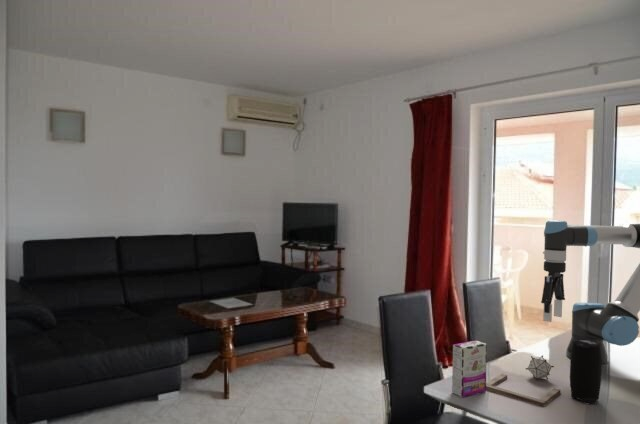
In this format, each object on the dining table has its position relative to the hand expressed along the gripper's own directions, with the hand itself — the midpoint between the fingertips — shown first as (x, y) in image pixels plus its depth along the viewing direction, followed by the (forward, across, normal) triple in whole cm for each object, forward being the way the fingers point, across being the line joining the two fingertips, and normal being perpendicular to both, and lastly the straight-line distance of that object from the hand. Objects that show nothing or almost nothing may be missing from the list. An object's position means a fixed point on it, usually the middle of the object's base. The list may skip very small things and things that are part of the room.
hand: (552, 318), depth 184 cm
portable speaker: (+20, +21, +17) cm, 34 cm away
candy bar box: (+20, +44, -12) cm, 50 cm away
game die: (+20, +12, 0) cm, 23 cm away
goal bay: (+20, +28, 0) cm, 34 cm away
